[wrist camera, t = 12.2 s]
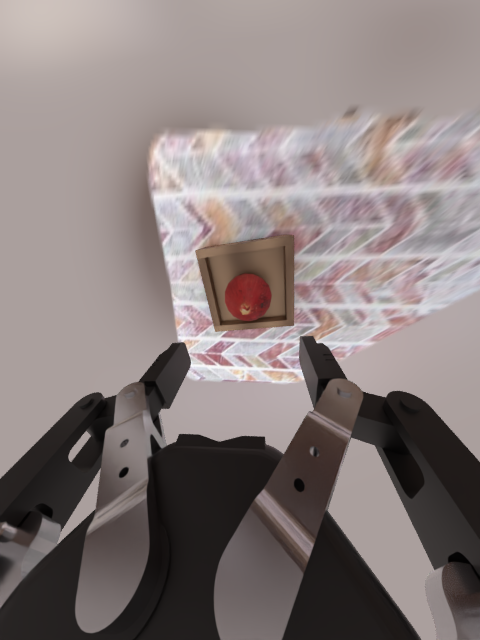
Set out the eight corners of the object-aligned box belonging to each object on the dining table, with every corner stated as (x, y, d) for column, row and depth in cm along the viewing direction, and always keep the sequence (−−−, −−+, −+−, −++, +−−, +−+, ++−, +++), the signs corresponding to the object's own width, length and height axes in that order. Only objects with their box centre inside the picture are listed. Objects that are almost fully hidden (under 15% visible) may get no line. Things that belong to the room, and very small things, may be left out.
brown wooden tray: (286, 234, 24) (293, 235, 19) (287, 310, 30) (293, 325, 25) (206, 246, 26) (195, 250, 21) (221, 316, 31) (215, 331, 27)
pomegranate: (272, 269, 23) (279, 287, 16) (266, 308, 26) (270, 338, 19) (229, 266, 23) (217, 282, 16) (228, 305, 26) (217, 332, 19)
